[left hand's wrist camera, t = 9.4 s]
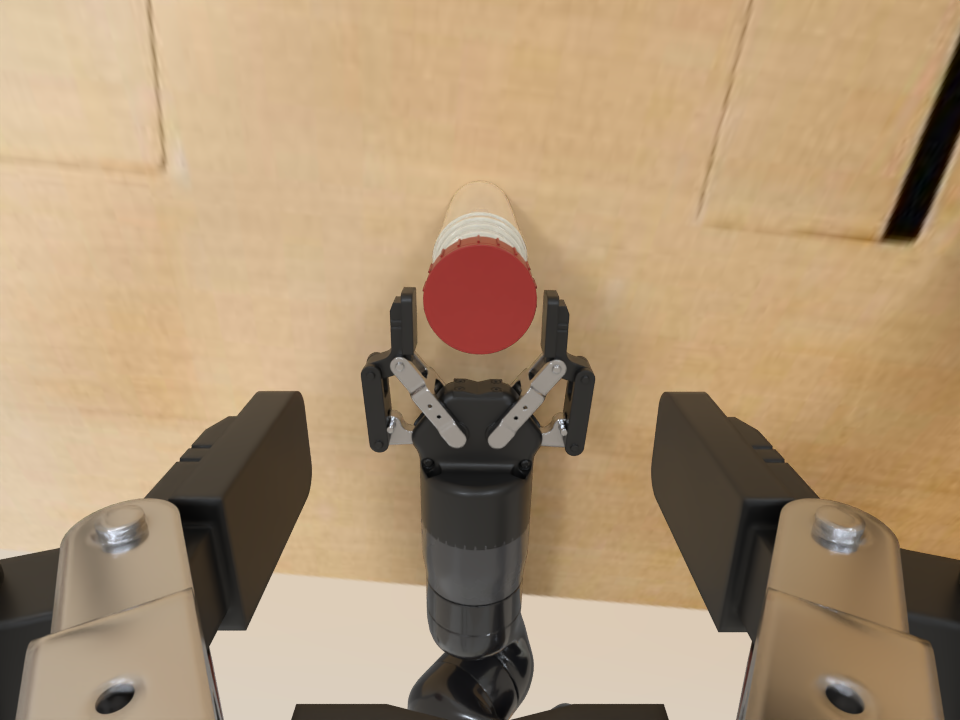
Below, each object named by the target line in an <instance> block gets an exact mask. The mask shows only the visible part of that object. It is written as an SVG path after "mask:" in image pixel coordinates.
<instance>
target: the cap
mask: <svg viewBox="0 0 960 720" xmlns="http://www.w3.org/2000/svg"><path fill="white" fill-rule="evenodd" d="M530 270H531V269H530V267H529V264H528V262H527V261H526V262H525V260H524V259H523V257H522V256H521V255H520V254H519V253H518V252H517V250H516V248H515V247H511V246H510V245H508V244H507V243H505V242H503V241H500V240H499V238H496V239H494V238H491V237H480V235H477V237H470V238H466V239H462V240H461V239H458V241H457V242H455V243H453V244H452V245H450V246H449V247H447V248H446V249H444V248H443V249H442V251H441V254H440V255H439V256H438V257H437V259H436V260H435V262H434V263H433V264H432V263H431V265H430V268H429V271H428V273H429V275H428V278H427V281H426V282H425V285H424V287H423V291H424V295H423V304H424V311H425V314H426V318H427V320H428V322H429V324H430V326H431V328H432V329H433V331H434V332H435V333H436V335H437V336H438V337H439V338H440V339H441V340H442V341H444V342H445V343H446V344H448V345H449V346H451V347H453V348H455V349H457V350H459V351H462V352H466V353H470V354H490V353H494V352H498V351H501V350H503V349H505V348H507V347H509V346H511V345H512V344H514V343H515V342H517V341H518V340H519V339H520V338H521V337H522V336H523V335H524V333H525V332H526V331H527V329H528V328H529V326H530V325H531V322H532V320H533V318H534V315H535V311H536V307H537V295H536V289H537V286H536V283H535V280H534V278H532V275H531V272H530Z"/></svg>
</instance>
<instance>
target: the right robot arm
mask: <svg viewBox="0 0 960 720" xmlns="http://www.w3.org/2000/svg"><path fill="white" fill-rule="evenodd" d="M568 324H569V312H568V309H567V306H566V304H565V302H564V300H559V296H558V294H557V292H556V290H544V298H543V315H542V332H541V348H542V351H543V352H542V353H541V355H540V356H539V357H538V358H537V359H536V360H535V361H534V362H533V364H532V365H531V366H530V367H529V368H526V369H524V370H523V371H522V372H521V374H520V375H519V376H518V377H517V378H516V379H515V380H514V382H513V383H512V384H511V385H510V386H509V385H508V384H505V383H502V379H489V380H485V381H481V382H476V381H472V380H468V379H454V382H451V383H448V384H447V385H446V384H445V383H444V382H443V381H442V379H441V378H440V377H439V376H438V374H437V373H436V372H435V371H434V370H433V369H432V368H431V367H428V366H427V365H426V364H425V362H424V361H423V360H422V359H421V358H420V356H419V355H418V354H417V353H416V351H415V348H416V345H417V310H416V288H415V287H404V288H403V290H402V293H401V297H398V296H396V298H395V300H394V302H393V304H392V307H391V310H390V325H391V349H390V350H388V351H385V352H382V353H379V352H374V353H372V354H370V356H369V357H368V359H367V363H366V365H365V367H364V368H363V370H362V372H361V380H362V388H363V396H364V404H365V412H366V419H367V427H368V435H369V443H370V447H371V449H372V450H374V451H375V452H384V451H386V450H387V448H388V446H389V445H393V444H413V445H414V446H415V448H416V449H417V451H418V453H419V456H420V478H421V523H422V549H423V557H424V562H425V567H426V588H427V618H428V624H429V629H430V632H431V634H432V637H433V639H434V641H435V642H436V644H437V645H438V646H439V647H440V648H441V649H442V650H443V651H444V652H445V653H444V654H443V655H442V656H441V657H440V658H439V659H438V660H437V661H436V662H435V663H434V664H433V665H432V666H431V667H430V668H429V669H428V670H427V671H426V672H425V673H424V674H423V675H422V676H421V677H420V679H419V680H418V681H417V682H416V684H415V685H414V686H413V688H412V690H411V692H410V695H409V699H408V710H412V711H416V712H420V713H424V714H428V715H432V716H436V717H440V718H444V719H448V720H509V719H510V717H511V716H512V715H513V713H514V712H515V711H516V710H517V708H518V707H519V705H520V704H521V703H522V701H523V700H524V698H525V697H526V695H527V693H528V690H529V688H530V684H531V681H532V677H533V671H534V662H533V655H532V651H531V647H530V644H529V640H528V636H527V632H526V628H525V625H524V622H523V619H522V616H521V600H522V582H523V570H524V566H525V562H526V557H527V551H528V541H529V523H530V507H531V490H532V473H533V459H534V456H535V454H536V452H537V451H538V449H539V448H540V446H552V447H565V450H566V452H567V453H568V454H569V455H571V456H577V455H579V454H581V453H582V452H583V450H584V445H585V439H586V432H587V426H588V420H589V414H590V408H591V402H592V396H593V390H594V384H595V376H594V374H593V371H592V369H591V367H590V365H589V363H588V360H587V359H586V358H585V357H582V356H577V357H576V356H573V355H571V354H569V353H567V339H568ZM393 375H395V376H396V377H397V378H398V379H399V380H400V382H401V383H402V384H403V385H404V386H405V387H406V389H407V390H408V391H409V393H410V396H411V398H412V400H413V401H414V403H415V404H416V405H417V406H418V407H419V408H420V410H421V411H422V413H421V415H420V416H419V417H418V418H417V420H416V421H415V423H414V425H410V424H407V423H406V422H405V421H404V420H403V417H402V414H401V413H400V412H398V411H397V410H392V407H391V398H390V389H389V379H388V377H390V376H393ZM561 378H563V379H566V380H568V381H567V388H566V395H565V402H564V409H563V413H557V414H556V415H554V416H553V418H552V421H551V423H550V424H549V425H548V426H545V427H541V426H540V424H539V422H538V421H537V419H536V418H535V417H534V415H533V413H534V412H535V410H536V409H537V408H538V407H539V406H540V405H541V404H542V403H543V401H544V399H545V397H546V394H547V393H548V392H549V391H550V390H551V389H552V388H553V386H554V385H555V384H556V383H557V382H558V381H559V380H560V379H561ZM568 705H571V704H567V703H563V704H559V705H557V706H556V707H554V708H553V709H556V708H560V707H564V706H568ZM551 710H552V709H551Z"/></svg>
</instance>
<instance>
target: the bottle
mask: <svg viewBox="0 0 960 720" xmlns="http://www.w3.org/2000/svg"><path fill="white" fill-rule="evenodd" d="M477 235H480V237H491V238H494V239H496V238H499V240H500V241H503V242H505V243H507V244H508V245H510V246H511V247H515V248H516V250H517V252H518V253H519V254H520V255H521V256H522V257H523V259H524V260H525V262H526V261H527V250H526V246H525V243H524V240H523V237H522V235H521V232H520V229H519V227H518V224H517V221H516V219H515V216H514V213H513V211H512V208H511V205H510V203H509V200H508V198H507V196H506V195H505V193H504V192H503V191H502V190H501V189H500V188H499V187H497V186H496V185H494V184H492V183H489V182H484V181H476V182H471V183H468V184H466V185H464V186H463V187H461V188H460V189H459V190H458V191H457V192H456V193H455V195H454V196H453V198H452V200H451V203H450V206H449V208H448V211H447V214H446V216H445V219H444V222H443V224H442V227H441V230H440V232H439V235H438V238H437V240H436V243H435V246H434V250H433V263H434V262H435V260H436V259H437V257H438V256H439V255H440V254H441V251H442V249H443V248H444V249H446V248H447V247H449V246H450V245H452V244H453V243H455V242H457V241H458V239H461V240H462V239H466V238H470V237H477Z"/></svg>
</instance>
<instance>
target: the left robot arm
mask: <svg viewBox="0 0 960 720" xmlns="http://www.w3.org/2000/svg"><path fill="white" fill-rule="evenodd" d="M311 478H312V464H311V455H310V447H309V439H308V430H307V422H306V414H305V406H304V400H303V397H302V395H301V393H300V392H299V391H259V392H257V393H256V394H255V395H254V396H253V397H252V399H251V400H250V401H249V402H248V403H247V405H246V406H245V407H244V408H243V409H242V411H241V412H240V413H239V414H238V415H237V416H229V417H227V418H225V419H223V420H222V421H220V422H218V423H216V424H215V425H213V426H211V427H209V428H208V429H206V430H205V431H204V432H203V433H202V434H201V435H200V436H199V438H198V439H197V440H196V441H195V442H194V443H193V444H192V448H189V449H188V450H187V451H186V452H185V453H184V454H183V455H182V457H181V458H180V462H176V463H175V464H174V465H173V467H172V468H171V469H170V470H169V471H168V472H167V473H166V474H165V475H164V477H163V478H162V479H161V480H160V481H159V482H158V483H157V484H156V485H155V487H154V488H153V489H152V490H151V491H150V492H149V493H148V494H147V495H146V497H145V498H144V499H135V500H129V501H124V502H120V503H117V504H114V505H110V506H108V507H105V508H103V509H100V510H98V511H96V512H94V513H92V514H90V515H88V516H87V517H85V518H83V519H82V520H81V521H79V522H78V523H76V524H75V525H74V526H73V527H72V528H71V529H70V530H69V531H68V532H67V533H66V534H65V536H64V538H63V539H62V542H61V546H60V548H58V549H53V550H48V551H42V552H37V553H32V554H27V555H22V556H17V557H12V558H6V559H1V560H0V720H224V719H223V713H222V708H221V703H220V698H219V693H218V688H217V682H216V677H215V672H214V667H213V662H212V657H211V653H210V648H209V646H210V644H211V642H212V640H213V638H214V636H215V634H216V632H217V630H246V629H247V627H248V625H249V623H250V621H251V619H252V616H253V614H254V612H255V610H256V608H257V606H258V603H259V601H260V599H261V597H262V595H263V593H264V591H265V588H266V586H267V584H268V582H269V580H270V577H271V575H272V573H273V571H274V569H275V567H276V565H277V562H278V560H279V558H280V556H281V554H282V552H283V549H284V547H285V545H286V543H287V541H288V539H289V536H290V534H291V532H292V530H293V528H294V526H295V523H296V521H297V519H298V517H299V515H300V513H301V510H302V508H303V506H304V504H305V502H306V500H307V497H308V495H309V491H310V486H311ZM651 478H652V487H653V492H654V495H655V498H656V500H657V502H658V504H659V507H660V509H661V511H662V513H663V515H664V517H665V519H666V522H667V524H668V526H669V528H670V530H671V532H672V534H673V536H674V539H675V541H676V543H677V545H678V547H679V549H680V551H681V553H682V556H683V558H684V560H685V562H686V564H687V566H688V568H689V571H690V573H691V575H692V577H693V579H694V581H695V583H696V585H697V588H698V590H699V592H700V594H701V596H702V598H703V600H704V602H705V605H706V607H707V609H708V611H709V613H710V615H711V617H712V619H713V622H714V624H715V626H716V628H717V630H718V632H747V633H748V634H749V636H750V638H751V640H752V644H751V648H750V653H749V657H748V662H747V667H746V672H745V677H744V682H743V688H742V693H741V698H740V703H739V708H738V713H737V719H736V720H960V560H956V559H951V558H946V557H941V556H936V555H931V554H925V553H920V552H915V551H910V550H906V549H901V548H900V546H899V542H898V539H897V538H896V536H895V534H894V533H893V532H892V531H891V530H890V529H889V528H888V527H887V526H886V525H885V524H884V523H882V522H881V521H879V520H878V519H877V518H875V517H873V516H872V515H870V514H868V513H866V512H864V511H862V510H860V509H857V508H855V507H852V506H850V505H846V504H843V503H840V502H836V501H831V500H825V499H820V498H819V497H818V496H817V495H816V494H815V493H814V491H813V490H812V489H811V488H810V487H809V486H808V485H807V484H806V483H805V482H804V480H803V479H802V478H801V477H800V476H799V475H798V474H797V473H796V472H795V470H794V469H793V468H792V467H791V466H790V465H789V464H788V463H785V462H784V458H783V457H782V456H781V455H780V454H779V453H778V452H777V451H776V450H775V449H772V445H771V444H770V443H769V442H768V441H767V440H766V439H765V437H764V436H763V435H762V434H761V433H760V432H759V431H758V430H756V429H755V428H753V427H751V426H749V425H748V424H746V423H744V422H742V421H741V420H739V419H737V418H735V417H727V416H726V415H725V414H724V413H723V412H722V410H721V409H720V408H719V407H718V406H717V405H716V403H715V402H714V401H713V400H712V399H711V397H710V396H709V395H708V394H707V393H706V392H664V393H663V394H662V396H661V398H660V402H659V408H658V416H657V424H656V432H655V440H654V448H653V457H652V466H651ZM291 720H448V719H444V718H440V717H436V716H432V715H428V714H424V713H420V712H416V711H412V710H408V709H404V708H400V707H396V706H392V705H388V704H296V707H295V710H294V713H293V716H292V719H291ZM512 720H669V719H668V716H667V713H666V710H665V707H664V704H572V705H568V706H564V707H560V708H556V709H552V710H548V711H544V712H540V713H536V714H532V715H528V716H524V717H520V718H516V719H512Z"/></svg>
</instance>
